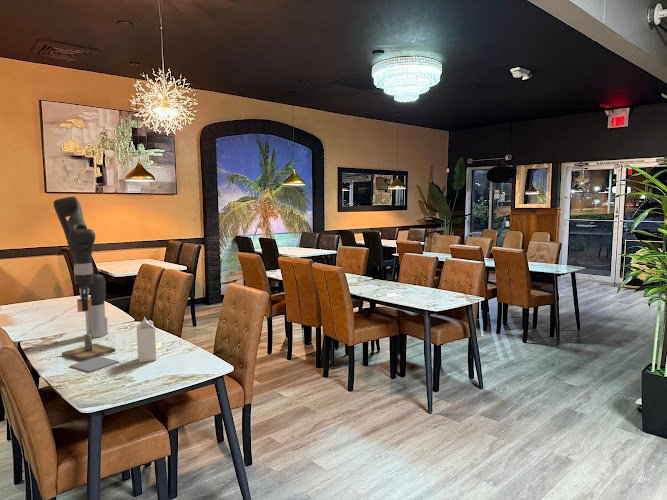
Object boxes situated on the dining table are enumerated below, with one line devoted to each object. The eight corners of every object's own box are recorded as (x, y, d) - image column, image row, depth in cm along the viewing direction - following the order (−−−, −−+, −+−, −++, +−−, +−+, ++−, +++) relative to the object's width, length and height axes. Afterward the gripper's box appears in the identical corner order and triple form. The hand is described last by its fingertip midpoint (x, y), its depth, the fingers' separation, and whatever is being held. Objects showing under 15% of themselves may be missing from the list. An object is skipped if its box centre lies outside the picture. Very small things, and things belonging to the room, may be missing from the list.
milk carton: (139, 363, 203) (137, 321, 201) (137, 358, 209) (136, 317, 208) (156, 360, 206) (154, 319, 205) (154, 355, 213) (152, 315, 211)
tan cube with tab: (77, 309, 211) (77, 297, 211) (91, 308, 214) (91, 296, 213) (77, 312, 206) (77, 299, 206) (91, 310, 209) (91, 298, 209)
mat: (100, 357, 210) (99, 356, 210) (119, 362, 204) (119, 361, 204) (69, 366, 198) (69, 365, 198) (89, 372, 191) (89, 371, 191)
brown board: (94, 346, 227) (93, 328, 226) (115, 351, 219) (114, 333, 218) (62, 355, 213) (60, 336, 212) (82, 361, 205) (81, 341, 205)
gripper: (74, 271, 213) (75, 307, 215) (73, 275, 201) (75, 313, 202) (92, 270, 217) (93, 306, 218) (93, 274, 204) (94, 311, 206)
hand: (85, 309), depth 210 cm, fingers closed on tan cube with tab, 5 cm apart
